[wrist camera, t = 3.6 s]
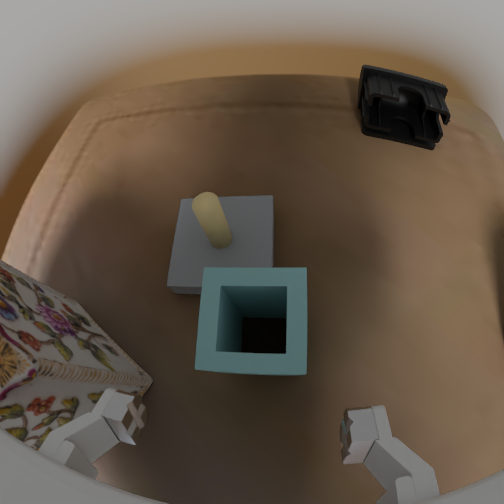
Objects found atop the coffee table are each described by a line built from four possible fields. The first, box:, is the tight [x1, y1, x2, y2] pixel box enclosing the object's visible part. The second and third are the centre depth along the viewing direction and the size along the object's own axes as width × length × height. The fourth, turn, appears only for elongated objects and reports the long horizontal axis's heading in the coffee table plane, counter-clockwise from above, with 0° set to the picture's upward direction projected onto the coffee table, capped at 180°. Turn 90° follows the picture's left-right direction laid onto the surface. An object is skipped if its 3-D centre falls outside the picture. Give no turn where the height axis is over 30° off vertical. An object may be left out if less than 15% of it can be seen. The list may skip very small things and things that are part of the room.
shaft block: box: [167, 192, 274, 294], centre depth 22 cm, size 8×8×7 cm
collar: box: [195, 267, 307, 375], centre depth 18 cm, size 5×5×8 cm
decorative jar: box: [0, 260, 153, 464], centre depth 13 cm, size 12×12×18 cm
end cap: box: [358, 65, 450, 150], centre depth 26 cm, size 10×7×7 cm
